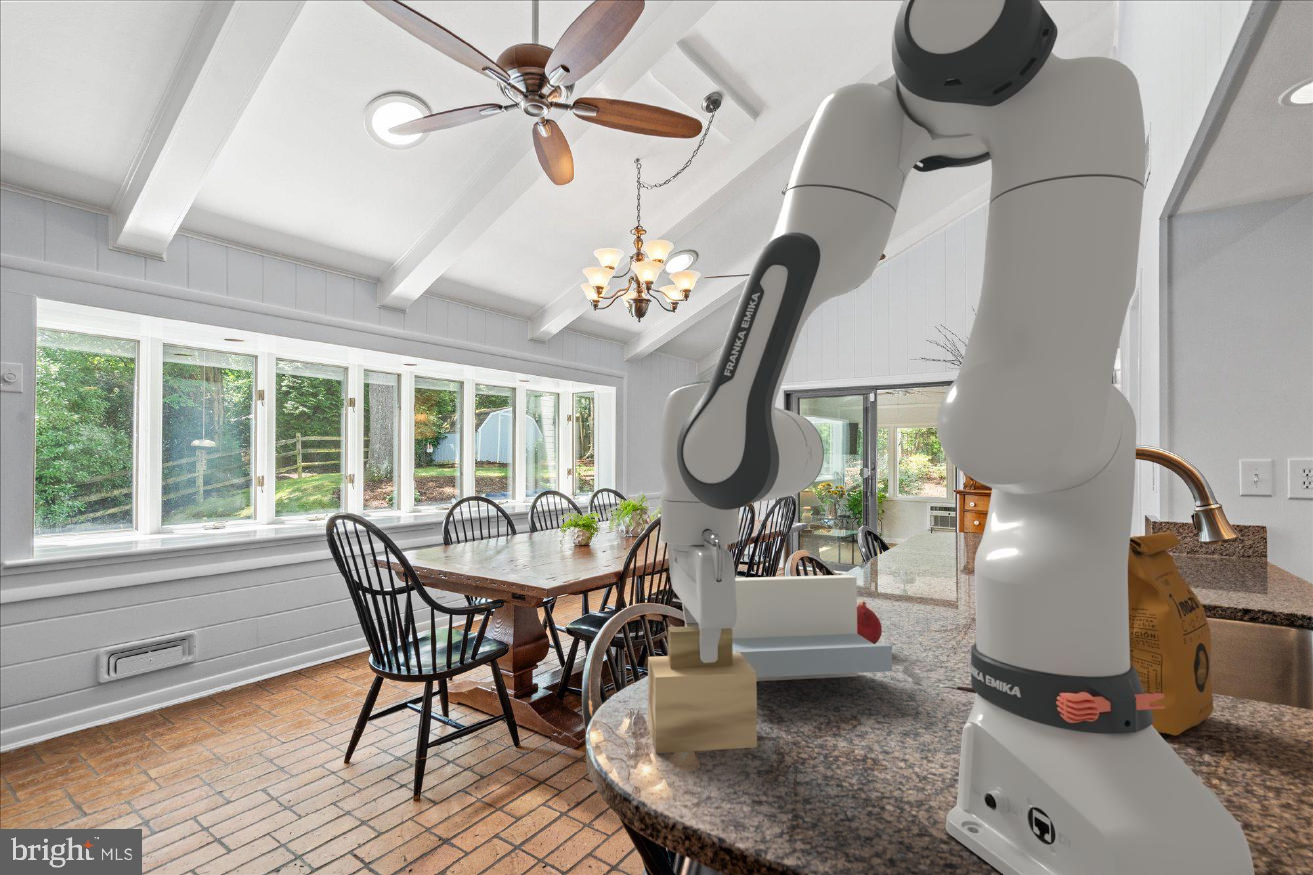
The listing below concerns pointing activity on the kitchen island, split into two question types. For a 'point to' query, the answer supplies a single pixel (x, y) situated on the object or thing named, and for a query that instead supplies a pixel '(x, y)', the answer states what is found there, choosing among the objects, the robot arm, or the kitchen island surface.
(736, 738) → the stacked wooden blocks
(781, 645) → the wall shelf
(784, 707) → the kitchen island surface
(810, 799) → the kitchen island surface
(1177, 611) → the coffee package
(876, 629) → the onion
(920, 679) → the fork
